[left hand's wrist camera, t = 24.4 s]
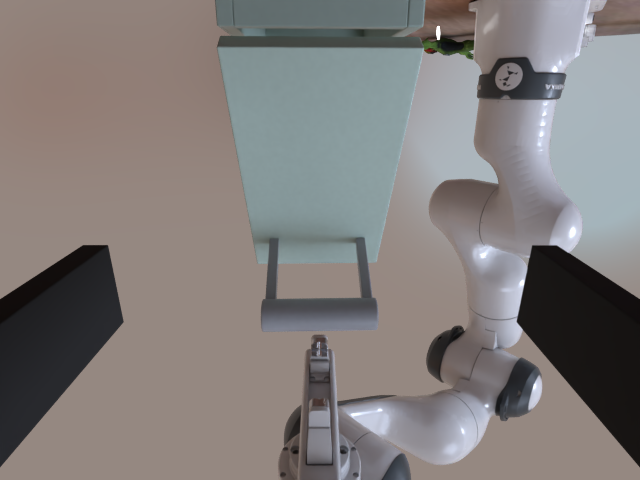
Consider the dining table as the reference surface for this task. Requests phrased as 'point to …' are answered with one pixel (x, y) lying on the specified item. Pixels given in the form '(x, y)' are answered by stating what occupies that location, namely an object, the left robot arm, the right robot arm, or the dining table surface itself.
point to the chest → (320, 17)
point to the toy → (449, 47)
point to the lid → (318, 157)
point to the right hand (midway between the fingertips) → (319, 367)
